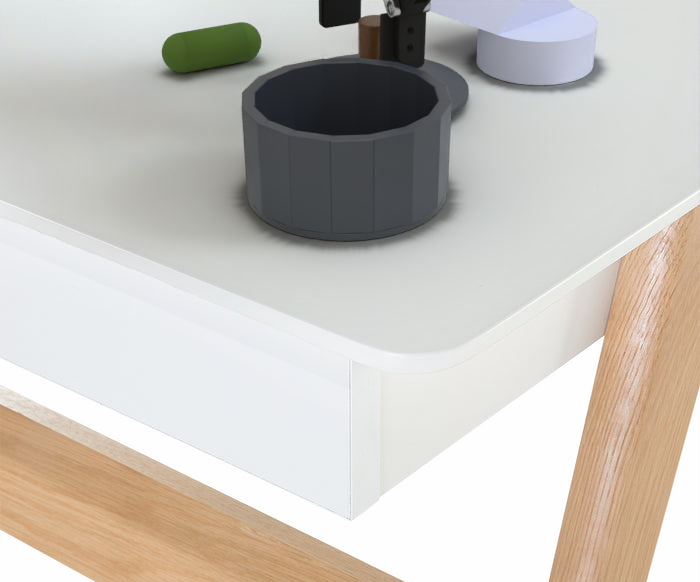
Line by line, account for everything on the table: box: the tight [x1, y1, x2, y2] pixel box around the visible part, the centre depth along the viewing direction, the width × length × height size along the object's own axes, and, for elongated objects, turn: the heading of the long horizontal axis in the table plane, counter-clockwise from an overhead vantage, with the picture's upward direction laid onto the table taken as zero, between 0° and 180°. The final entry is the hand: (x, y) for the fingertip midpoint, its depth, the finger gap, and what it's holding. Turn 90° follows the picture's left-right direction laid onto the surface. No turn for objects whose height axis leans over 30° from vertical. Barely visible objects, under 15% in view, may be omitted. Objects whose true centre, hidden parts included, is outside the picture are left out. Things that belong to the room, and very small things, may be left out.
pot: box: [240, 57, 452, 242], centre depth 77 cm, size 13×13×6 cm
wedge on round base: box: [429, 0, 598, 86], centre depth 95 cm, size 9×7×13 cm
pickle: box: [161, 21, 262, 74], centre depth 95 cm, size 8×3×3 cm, turn 116°
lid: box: [327, 14, 470, 118], centre depth 88 cm, size 14×14×6 cm
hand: (369, 45), depth 88 cm, fingers open, 9 cm apart
